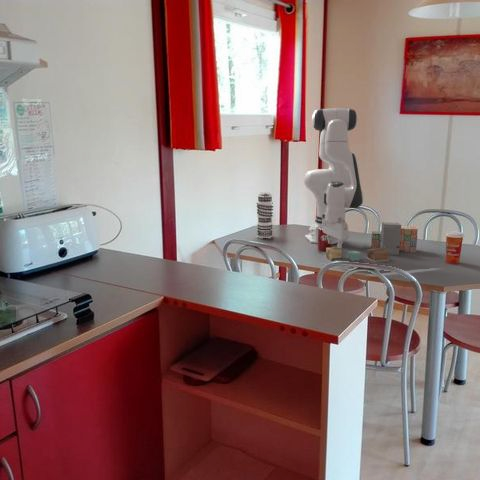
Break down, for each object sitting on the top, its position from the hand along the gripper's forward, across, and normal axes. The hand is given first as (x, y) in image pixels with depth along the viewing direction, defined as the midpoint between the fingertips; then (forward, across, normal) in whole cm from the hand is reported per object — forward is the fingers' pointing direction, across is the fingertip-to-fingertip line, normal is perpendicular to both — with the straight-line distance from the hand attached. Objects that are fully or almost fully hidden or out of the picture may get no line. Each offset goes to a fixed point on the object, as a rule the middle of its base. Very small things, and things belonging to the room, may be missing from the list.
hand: (334, 245), depth 251 cm
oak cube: (+7, +1, 0) cm, 7 cm away
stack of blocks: (+7, +6, -35) cm, 36 cm away
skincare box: (+7, -1, -29) cm, 30 cm away
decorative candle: (+5, +55, +15) cm, 58 cm away
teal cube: (+7, -6, -7) cm, 12 cm away
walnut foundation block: (+6, -9, -18) cm, 21 cm away
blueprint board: (+7, -8, -18) cm, 20 cm away
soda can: (+6, +15, -2) cm, 16 cm away
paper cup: (+7, -22, -49) cm, 54 cm away
